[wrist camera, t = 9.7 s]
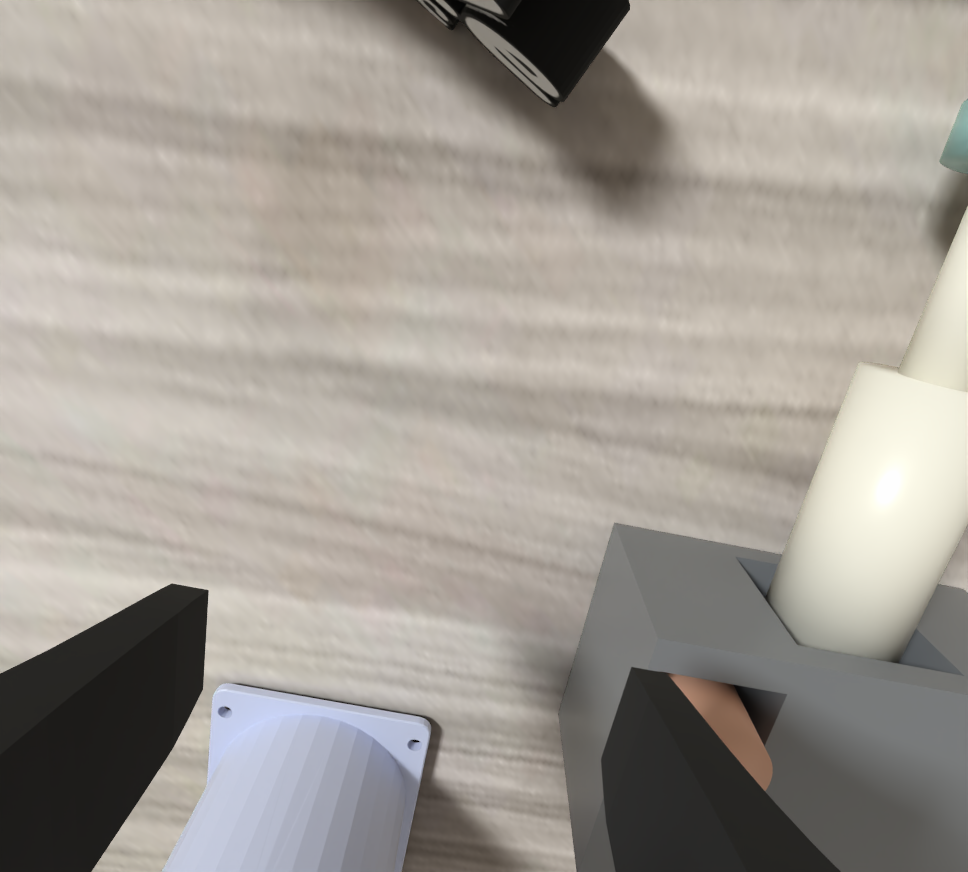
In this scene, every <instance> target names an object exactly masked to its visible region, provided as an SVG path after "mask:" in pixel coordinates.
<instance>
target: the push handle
mask: <svg viewBox="0 0 968 872" xmlns="http://www.w3.org/2000/svg"><path fill="white" fill-rule="evenodd" d="M940 163H941V164H942V165H943V166H945V167H947V168H949V169H952V170H954V171H958V172H961V173H965V174H968V99H967V100H966V101H964V102H963V104H962V105H961V108H960V110H959V113H958V115H957V118H956V120H955V123H954V125H953V128H952V130H951V133H950V135H949V138H948V141H947V143H946V146H945V148H944V151H943V153H942V156H941V158H940ZM967 525H968V206H967V209H966V211H965V213H964V216H963V218H962V220H961V223H960V225H959V228H958V230H957V232H956V235H955V237H954V239H953V242H952V244H951V247H950V249H949V251H948V254H947V256H946V258H945V261H944V263H943V266H942V268H941V270H940V273H939V275H938V277H937V280H936V282H935V284H934V287H933V289H932V292H931V294H930V296H929V299H928V301H927V303H926V306H925V308H924V311H923V313H922V315H921V318H920V320H919V322H918V325H917V327H916V330H915V332H914V334H913V337H912V339H911V341H910V344H909V346H908V349H907V351H906V353H905V356H904V358H903V360H902V363H901V365H900V367H899V368H898V367H893V366H888V365H882V364H876V363H869V362H859V364H858V366H857V369H856V371H855V374H854V376H853V379H852V381H851V384H850V386H849V389H848V391H847V394H846V396H845V399H844V401H843V404H842V406H841V409H840V411H839V414H838V416H837V419H836V421H835V424H834V426H833V429H832V431H831V434H830V436H829V439H828V441H827V444H826V446H825V449H824V451H823V454H822V456H821V459H820V461H819V464H818V466H817V469H816V471H815V474H814V476H813V479H812V481H811V484H810V486H809V489H808V491H807V494H806V496H805V499H804V502H803V504H802V507H801V509H800V512H799V514H798V517H797V519H796V522H795V524H794V527H793V529H792V532H791V534H790V537H789V539H788V542H787V544H786V547H785V549H784V552H783V554H782V557H781V559H780V562H779V564H778V567H777V569H776V572H775V574H774V577H773V579H772V582H771V584H770V587H769V589H768V592H767V594H766V597H765V600H766V601H767V603H768V604H769V605H770V607H771V608H772V610H773V611H774V613H775V614H776V615H777V617H778V618H779V620H780V621H781V622H782V624H783V625H784V627H785V628H786V630H787V631H788V632H789V634H790V635H791V637H792V638H793V640H794V641H795V642H796V644H797V645H800V646H805V647H810V648H816V649H821V650H827V651H832V652H838V653H843V654H848V655H854V656H859V657H865V658H870V659H876V660H881V661H886V662H892V663H897V664H898V663H899V661H900V659H901V657H902V655H903V653H904V651H905V649H906V647H907V645H908V643H909V641H910V639H911V637H912V635H913V633H914V631H915V629H916V627H917V625H918V623H919V621H920V619H921V617H922V615H923V613H924V611H925V609H926V607H927V605H928V603H929V601H930V599H931V597H932V595H933V593H934V591H935V589H936V587H937V585H938V583H939V581H940V579H941V577H942V575H943V573H944V571H945V569H946V567H947V565H948V563H949V561H950V559H951V557H952V555H953V553H954V551H955V549H956V547H957V545H958V543H959V541H960V539H961V537H962V535H963V533H964V531H965V529H966V527H967Z"/></svg>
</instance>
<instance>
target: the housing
mask: <svg viewBox="0 0 968 872" xmlns="http://www.w3.org/2000/svg"><path fill="white" fill-rule="evenodd" d="M781 557H782V555H781V554H775V553H770V552H765V551H760V550H754V549H749V548H744V547H738V546H733V545H728V544H723V543H717V542H712V541H707V540H702V539H696V538H691V537H686V536H680V535H675V534H670V533H665V532H659V531H654V530H649V529H643V528H638V527H633V526H628V525H622V524H617V523H614V526H613V529H612V533H611V536H610V540H609V543H608V546H607V550H606V553H605V557H604V560H603V564H602V567H601V570H600V574H599V577H598V581H597V584H596V587H595V591H594V594H593V598H592V601H591V604H590V608H589V611H588V615H587V618H586V622H585V625H584V628H583V632H582V635H581V639H580V642H579V645H578V649H577V652H576V656H575V659H574V663H573V666H572V669H571V673H570V676H569V680H568V683H567V686H566V690H565V693H564V697H563V700H562V703H561V707H560V710H559V714H558V715H559V724H560V732H561V741H562V749H563V758H564V767H565V775H566V784H567V793H568V801H569V810H570V819H571V827H572V836H573V844H574V853H575V862H576V870H577V872H616V871H615V866H614V861H613V856H612V851H611V846H610V841H609V835H608V830H607V825H606V816H605V806H604V795H603V782H602V768H601V757H602V754H603V751H604V748H605V745H606V742H607V739H608V736H609V733H610V730H611V727H612V724H613V721H614V718H615V715H616V712H617V709H618V706H619V703H620V700H621V697H622V694H623V691H624V688H625V685H626V682H627V679H628V676H629V672H630V669H631V667H635V668H641V669H646V670H652V671H657V672H659V671H661V672H667V673H672V674H678V675H683V676H689V677H694V678H700V679H705V680H711V681H716V682H722V683H727V684H733V685H734V687H735V689H736V691H737V693H738V695H739V697H740V699H741V701H742V703H743V705H744V707H745V709H746V711H747V713H748V715H749V717H750V719H751V721H752V723H753V725H754V727H755V729H756V731H757V733H758V735H759V737H760V739H761V741H762V743H763V745H764V747H765V749H766V751H767V753H768V755H769V757H770V759H771V762H772V767H773V774H772V779H771V781H770V784H769V786H768V788H767V789H766V791H765V792H766V793H767V794H768V795H769V796H770V797H771V799H772V800H773V801H774V802H775V803H776V804H777V805H778V806H779V807H780V809H781V810H782V811H783V812H784V813H785V814H786V815H787V816H788V817H789V818H790V819H791V820H792V822H793V823H794V824H795V825H796V826H797V827H798V828H799V829H800V830H801V831H802V832H803V833H804V834H805V836H806V837H807V838H808V839H809V840H810V841H811V842H812V843H813V844H814V845H815V846H816V847H817V848H818V849H819V850H820V851H821V852H822V853H823V854H824V855H825V856H826V857H827V858H828V859H829V860H830V861H831V862H832V863H833V864H834V865H835V866H836V867H837V868H838V869H839V870H840V871H841V872H968V593H967V592H966V591H965V590H964V589H960V588H955V587H949V586H944V585H939V584H938V585H937V587H936V589H935V591H934V593H933V595H932V597H931V599H930V601H929V603H928V605H927V607H926V609H925V611H924V613H923V615H922V617H921V619H920V621H919V623H918V625H917V627H916V629H915V631H914V633H913V635H912V637H911V639H910V641H909V643H908V645H907V647H906V649H905V651H904V653H903V655H902V657H901V659H900V661H899V663H898V664H897V663H892V662H886V661H881V660H876V659H870V658H865V657H859V656H854V655H848V654H843V653H838V652H832V651H827V650H821V649H816V648H810V647H805V646H800V645H797V644H796V642H795V641H794V640H793V638H792V637H791V635H790V634H789V632H788V631H787V630H786V628H785V627H784V625H783V624H782V622H781V621H780V620H779V618H778V617H777V615H776V614H775V613H774V611H773V610H772V608H771V607H770V605H769V604H768V603H767V601H766V600H765V597H766V594H767V592H768V589H769V587H770V584H771V582H772V579H773V577H774V574H775V572H776V569H777V567H778V564H779V562H780V559H781Z"/></svg>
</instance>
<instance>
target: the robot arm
mask: <svg viewBox="0 0 968 872" xmlns="http://www.w3.org/2000/svg"><path fill="white" fill-rule="evenodd" d="M207 607H208V590H204V589H199V588H193V587H188V586H182V585H177V584H170V585H168V586H166V587H164V588H162V589H160V590H158V591H156V592H155V593H153V594H151V595H149V596H147V597H145V598H143V599H142V600H140V601H138V602H136V603H134V604H133V605H131V606H129V607H127V608H125V609H124V610H122V611H120V612H118V613H116V614H115V615H113V616H111V617H109V618H107V619H105V620H104V621H102V622H100V623H98V624H96V625H94V626H93V627H91V628H89V629H87V630H85V631H83V632H81V633H79V634H78V635H76V636H74V637H72V638H70V639H68V640H66V641H65V642H63V643H61V644H59V645H57V646H55V647H53V648H51V649H50V650H48V651H46V652H44V653H42V654H40V655H38V656H35V657H33V658H31V659H29V660H27V661H25V662H23V663H21V664H19V665H17V666H15V667H13V668H11V669H9V670H7V671H5V672H3V673H1V674H0V872H91V871H92V870H93V868H94V867H95V865H96V864H97V862H98V861H99V859H100V858H101V856H102V855H103V853H104V852H105V850H106V849H107V847H108V846H109V844H110V843H111V841H112V840H113V838H114V837H115V835H116V834H117V832H118V831H119V829H120V828H121V826H122V825H123V823H124V822H125V820H126V819H127V817H128V816H129V814H130V813H131V811H132V810H133V808H134V807H135V805H136V804H137V802H138V801H139V799H140V798H141V796H142V795H143V793H144V792H145V790H146V789H147V787H148V786H149V784H150V783H151V781H152V780H153V778H154V776H155V775H156V773H157V772H158V770H159V769H160V767H161V766H162V764H163V763H164V761H165V760H166V758H167V757H168V755H169V753H170V752H171V750H172V749H173V747H174V745H175V743H176V741H177V739H178V737H179V736H180V734H181V732H182V730H183V728H184V726H185V724H186V722H187V720H188V718H189V716H190V714H191V712H192V710H193V708H194V706H195V704H196V702H197V700H198V698H199V696H200V694H201V692H202V690H203V677H204V660H205V642H206V625H207ZM224 706H226V707H228V708H230V709H231V710H228V709H225V708H224ZM430 735H431V725H430V723H429V721H427V720H426V719H425V718H422V717H418V716H412V715H407V714H401V713H395V712H390V711H384V710H378V709H373V708H367V707H361V706H355V705H350V704H344V703H338V702H333V701H327V700H321V699H316V698H310V697H304V696H299V695H293V694H287V693H282V692H276V691H270V690H264V689H259V688H253V687H247V686H242V685H236V684H228V683H225V684H222V685H220V686H219V687H218V688H217V690H216V691H215V693H214V695H213V699H212V714H211V730H210V746H209V761H208V777H207V787H206V788H205V790H204V792H203V794H202V796H201V798H200V800H199V802H198V804H197V806H196V807H195V809H194V811H193V813H192V815H191V817H190V819H189V821H188V823H187V825H186V826H185V828H184V830H183V832H182V834H181V836H180V838H179V840H178V842H177V844H176V845H175V847H174V849H173V851H172V853H171V855H170V857H169V859H168V861H167V863H166V864H165V866H164V868H163V870H162V872H402V867H403V863H404V858H405V853H406V849H407V844H408V839H409V834H410V830H411V825H412V820H413V815H414V811H415V806H416V801H417V797H418V792H419V787H420V782H421V778H422V773H423V768H424V763H425V759H426V754H427V749H428V745H429V740H430ZM411 740H418V741H420V742H413V741H411ZM601 768H602V782H603V795H604V806H605V816H606V825H607V830H608V835H609V841H610V846H611V851H612V856H613V861H614V866H615V871H616V872H841V871H840V870H839V869H838V868H837V867H836V866H835V865H834V864H833V863H832V862H831V861H830V860H829V859H828V858H827V857H826V856H825V855H824V854H823V853H822V852H821V851H820V850H819V849H818V848H817V847H816V846H815V845H814V844H813V843H812V842H811V841H810V840H809V839H808V838H807V837H806V836H805V834H804V833H803V832H802V831H801V830H800V829H799V828H798V827H797V826H796V825H795V824H794V823H793V822H792V820H791V819H790V818H789V817H788V816H787V815H786V814H785V813H784V812H783V811H782V810H781V809H780V807H779V806H778V805H777V804H776V803H775V802H774V801H773V800H772V799H771V797H770V796H769V795H768V794H767V793H766V792H765V791H764V790H763V788H762V787H761V786H760V785H759V784H758V783H757V782H756V780H755V779H754V778H753V777H752V776H751V775H750V773H749V772H748V771H747V770H746V769H745V768H744V766H743V765H742V764H741V763H740V762H739V760H738V759H737V758H736V757H735V756H734V755H733V753H732V752H731V751H730V750H729V749H728V747H727V746H726V745H725V744H724V742H723V741H722V740H721V739H720V738H719V736H718V735H717V734H716V733H715V731H714V730H713V729H712V728H711V727H710V725H709V724H708V723H707V722H706V720H705V719H704V718H703V717H702V715H701V714H700V713H699V712H698V711H697V709H696V708H695V707H694V706H693V704H692V703H691V702H690V701H689V699H688V698H687V697H686V696H685V695H684V693H683V692H682V691H681V690H680V688H679V687H678V686H677V685H676V684H675V682H674V681H673V680H672V679H671V678H670V677H669V676H668V674H667V673H663V672H657V671H652V670H646V669H641V668H635V667H631V669H630V672H629V676H628V679H627V682H626V685H625V688H624V691H623V694H622V697H621V700H620V703H619V706H618V709H617V712H616V715H615V718H614V721H613V724H612V727H611V730H610V733H609V736H608V739H607V742H606V745H605V748H604V751H603V754H602V757H601Z"/></svg>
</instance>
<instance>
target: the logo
mask: <svg viewBox="0 0 968 872" xmlns="http://www.w3.org/2000/svg"><path fill="white" fill-rule="evenodd" d="M417 1H418V2H419V3H420V4H421V5H422V6H423V7H424V8H426V9H427V10H428V11H429V12H430V13H431V14H432V15H434V16H435V17H436V18H437V19H438V20H439V21H441V22H442V23H443V24H444V25H445V26H446V27H448V28H449V29H450V30H453V29H454V27H455V26H456V24H457V23H458V21H459V20H460V21H462V22H463V23H464V24H465V25H466V27H467V28H468V29H469V30H470V32H471V33H472V34H473V35H474V36H475V37H476V38H477V39H478V40H479V41H480V42H481V43H482V45H483V46H484V47H485V48H486V49H487V50H488V51H489V52H490V53H492V54H493V55H494V56H495V57H496V58H497V59H498V60H499V61H500V62H501V63H502V64H503V65H504V66H505V67H506V68H507V69H508V70H509V71H511V72H512V73H513V74H514V75H515V76H516V77H517V78H518V79H519V80H520V81H521V82H522V83H523V84H525V85H526V86H527V87H528V88H529V89H530V90H531V91H532V92H533V93H534V94H536V95H537V96H538V97H539V98H540V99H542V100H543V101H544V102H546V103H547V104H549V105H550V106H552V107H557V105H558V104H559V102H560V101H561V102H564V101H565V99H566V98H567V97H568V95H569V94H570V92H571V91H572V90H573V88H574V87H575V85H576V84H577V83H578V81H579V80H580V78H581V77H582V76H583V74H584V73H585V71H586V70H587V69H588V67H589V66H590V64H591V63H592V62H593V60H594V59H595V57H596V56H597V55H598V53H599V52H600V50H601V49H602V48H603V46H604V45H605V43H606V42H607V41H608V39H609V38H610V36H611V35H612V34H613V32H614V31H615V29H616V28H617V27H618V25H619V24H620V22H621V21H622V20H623V18H624V17H625V15H626V14H627V13H628V11H629V10H630V4H629V0H417Z"/></svg>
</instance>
